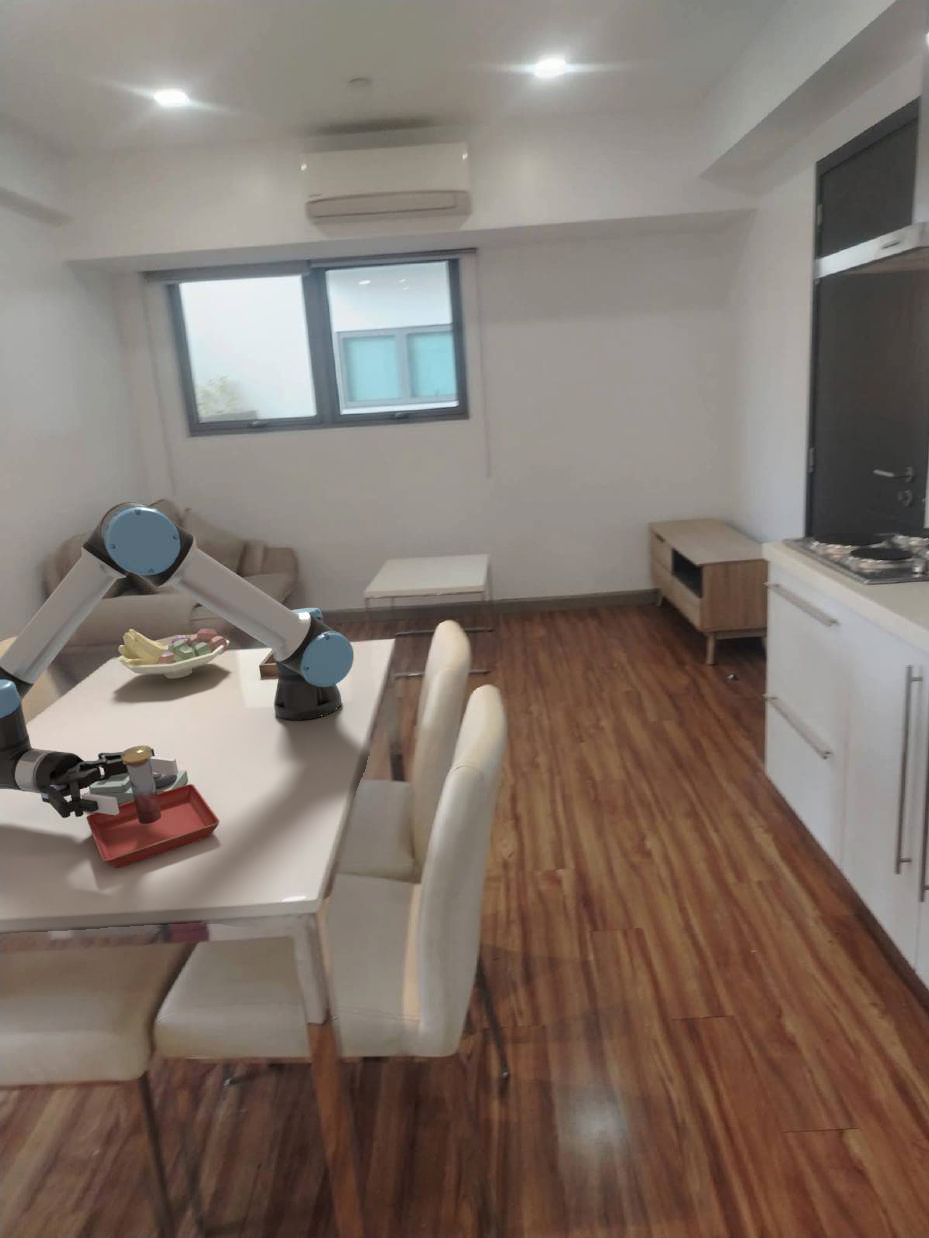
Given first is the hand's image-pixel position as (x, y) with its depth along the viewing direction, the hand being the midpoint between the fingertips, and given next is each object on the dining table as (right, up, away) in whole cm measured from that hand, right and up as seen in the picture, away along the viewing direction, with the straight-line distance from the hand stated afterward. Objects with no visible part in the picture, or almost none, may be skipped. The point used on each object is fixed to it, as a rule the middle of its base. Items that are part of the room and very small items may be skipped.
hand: (147, 785), depth 130 cm
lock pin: (0, -6, +2) cm, 6 cm away
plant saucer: (0, -9, +3) cm, 10 cm away
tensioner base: (-9, -5, +18) cm, 21 cm away
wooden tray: (+7, +15, +84) cm, 86 cm away
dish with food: (-25, +12, +84) cm, 88 cm away
